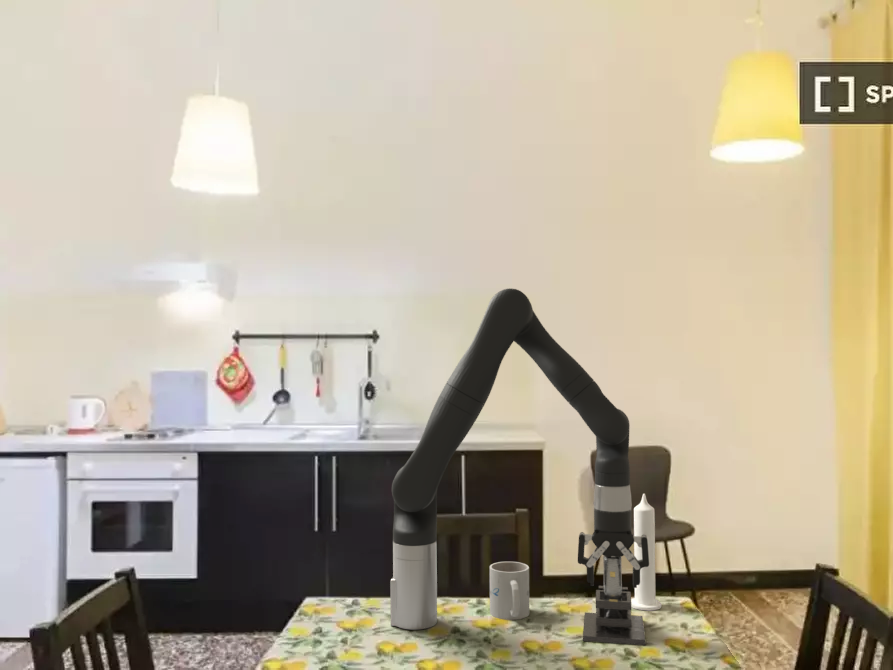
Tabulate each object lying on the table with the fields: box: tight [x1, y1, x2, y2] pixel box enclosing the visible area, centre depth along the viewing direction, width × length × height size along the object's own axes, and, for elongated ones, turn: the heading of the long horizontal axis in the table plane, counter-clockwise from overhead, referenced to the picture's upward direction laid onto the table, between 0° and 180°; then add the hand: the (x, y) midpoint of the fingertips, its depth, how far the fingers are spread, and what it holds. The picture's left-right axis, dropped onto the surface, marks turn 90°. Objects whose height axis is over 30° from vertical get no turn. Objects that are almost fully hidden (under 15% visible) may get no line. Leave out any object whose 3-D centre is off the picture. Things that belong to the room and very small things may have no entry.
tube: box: [602, 555, 623, 629], centre depth 162 cm, size 4×4×14 cm
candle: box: [631, 493, 662, 612], centre depth 178 cm, size 7×7×25 cm
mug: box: [489, 561, 530, 621], centre depth 172 cm, size 12×9×10 cm
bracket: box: [582, 585, 646, 646], centre depth 162 cm, size 12×14×7 cm
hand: (613, 585), depth 162 cm, fingers open, 8 cm apart
